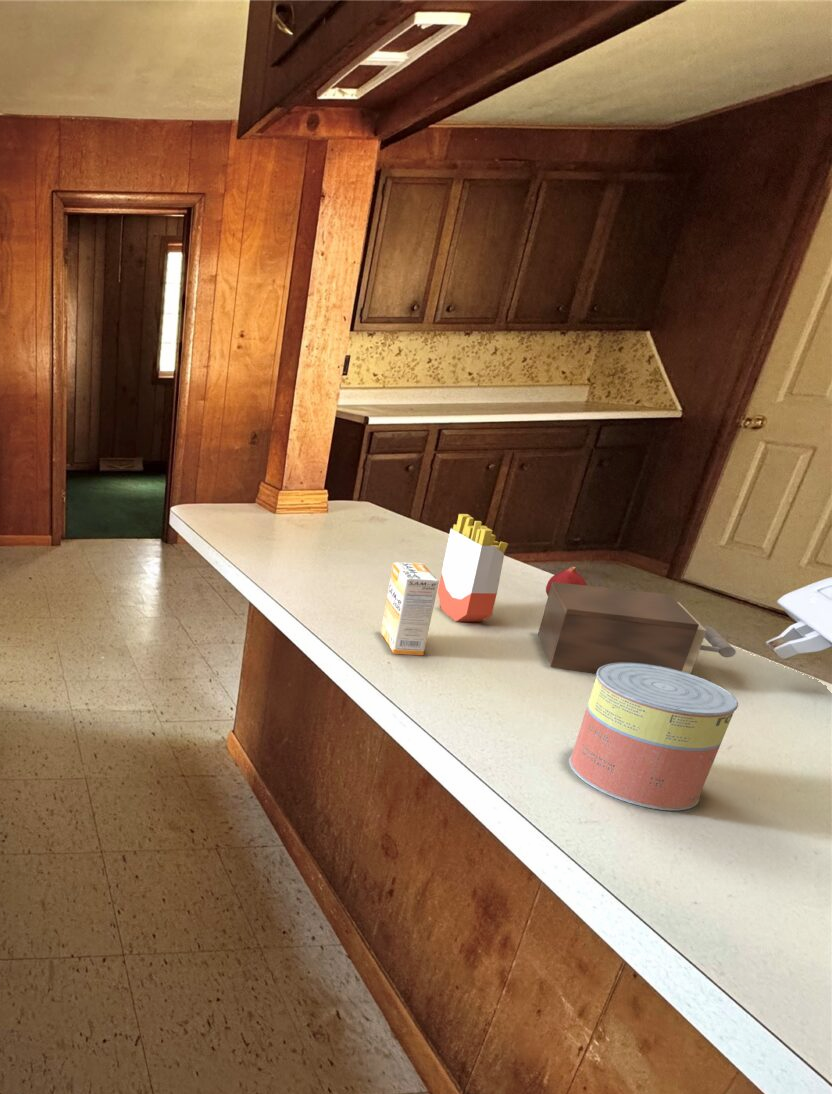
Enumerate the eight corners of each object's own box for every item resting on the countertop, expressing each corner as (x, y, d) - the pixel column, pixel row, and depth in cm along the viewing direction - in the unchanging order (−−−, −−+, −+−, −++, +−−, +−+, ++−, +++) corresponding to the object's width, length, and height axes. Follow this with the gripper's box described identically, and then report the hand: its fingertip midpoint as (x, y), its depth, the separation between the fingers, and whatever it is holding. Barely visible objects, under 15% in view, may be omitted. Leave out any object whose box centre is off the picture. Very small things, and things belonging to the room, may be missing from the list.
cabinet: (650, 650, 104) (669, 594, 101) (676, 686, 94) (699, 624, 91) (537, 635, 111) (551, 581, 107) (550, 666, 101) (567, 608, 97)
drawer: (699, 653, 101) (717, 606, 98) (729, 686, 92) (749, 635, 89) (556, 634, 109) (568, 590, 106) (570, 662, 100) (584, 615, 97)
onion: (534, 605, 123) (545, 564, 120) (553, 599, 125) (564, 559, 122) (569, 615, 118) (581, 573, 115) (588, 609, 120) (600, 568, 117)
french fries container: (460, 604, 124) (481, 511, 118) (491, 627, 114) (515, 527, 108) (434, 604, 125) (453, 511, 118) (462, 627, 115) (485, 527, 108)
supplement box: (378, 633, 114) (391, 561, 109) (409, 635, 113) (423, 562, 108) (391, 654, 106) (405, 578, 101) (424, 656, 105) (440, 579, 100)
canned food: (724, 818, 69) (767, 719, 65) (597, 802, 72) (629, 706, 68) (661, 756, 79) (695, 667, 75) (552, 744, 82) (578, 658, 78)
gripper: (845, 554, 93) (727, 608, 101) (942, 603, 76) (792, 663, 84) (877, 588, 93) (756, 639, 101) (982, 645, 76) (827, 701, 84)
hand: (773, 651), depth 92 cm, fingers closed
